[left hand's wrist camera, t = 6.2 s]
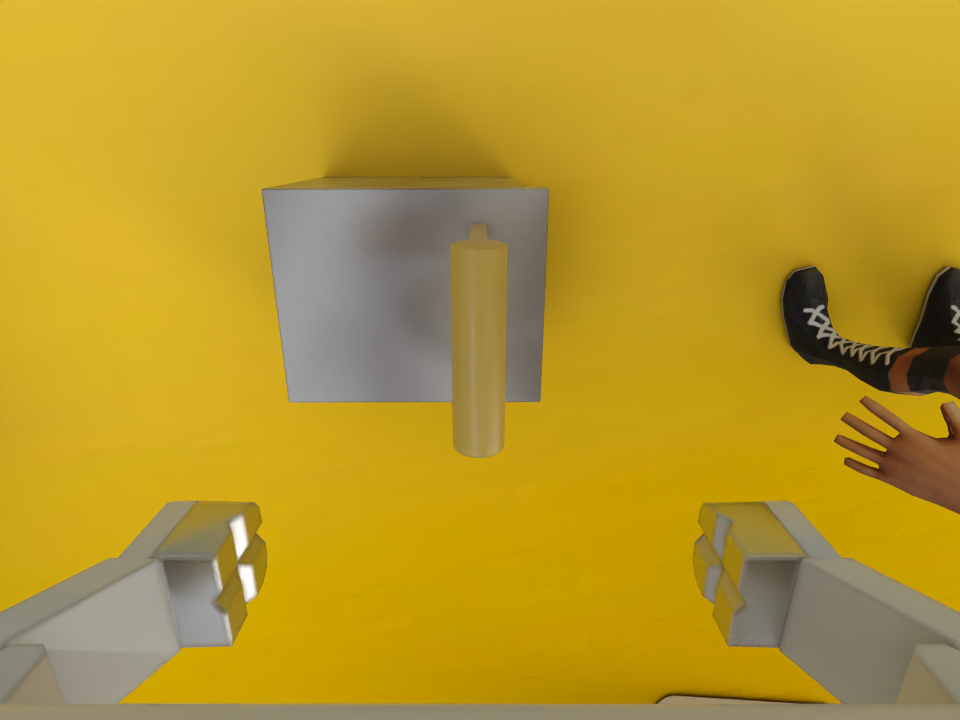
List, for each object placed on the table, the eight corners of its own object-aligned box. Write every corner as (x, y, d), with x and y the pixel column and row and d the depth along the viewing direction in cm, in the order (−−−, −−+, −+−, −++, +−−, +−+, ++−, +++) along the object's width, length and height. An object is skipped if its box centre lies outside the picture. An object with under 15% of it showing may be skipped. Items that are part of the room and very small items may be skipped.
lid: (545, 186, 25) (578, 205, 17) (538, 392, 29) (562, 489, 21) (270, 186, 25) (171, 205, 17) (296, 392, 29) (223, 490, 21)
